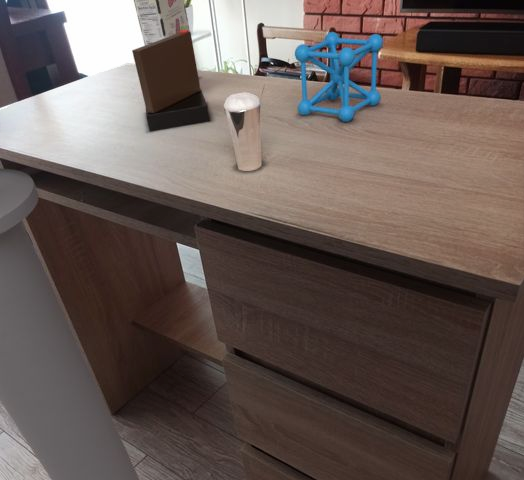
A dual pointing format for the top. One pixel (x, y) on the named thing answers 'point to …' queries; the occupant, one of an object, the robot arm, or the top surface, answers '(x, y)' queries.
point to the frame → (167, 71)
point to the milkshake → (245, 129)
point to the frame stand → (180, 113)
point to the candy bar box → (161, 18)
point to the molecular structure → (339, 74)
